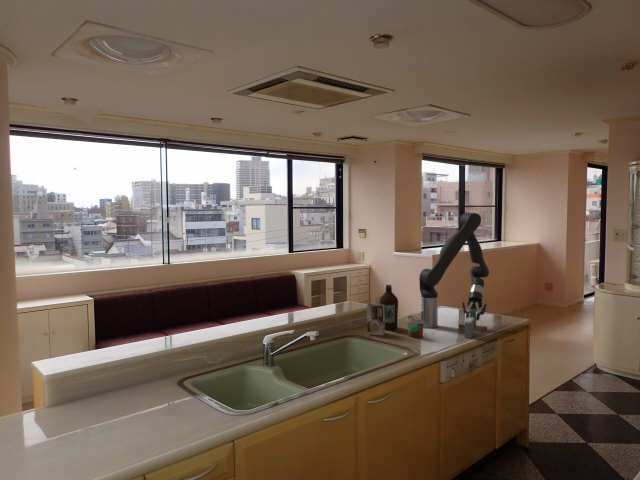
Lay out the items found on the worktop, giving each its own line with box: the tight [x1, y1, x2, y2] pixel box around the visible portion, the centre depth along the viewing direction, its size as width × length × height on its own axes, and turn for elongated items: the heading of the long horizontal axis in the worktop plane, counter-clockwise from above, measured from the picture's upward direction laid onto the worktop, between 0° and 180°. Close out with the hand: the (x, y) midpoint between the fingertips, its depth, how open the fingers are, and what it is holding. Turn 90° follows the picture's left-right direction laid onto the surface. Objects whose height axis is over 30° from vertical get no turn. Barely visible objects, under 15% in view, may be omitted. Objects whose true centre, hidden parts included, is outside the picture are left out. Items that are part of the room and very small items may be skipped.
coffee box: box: [366, 303, 386, 336], centre depth 265 cm, size 9×6×16 cm
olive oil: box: [378, 284, 399, 331], centre depth 275 cm, size 11×11×25 cm
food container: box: [405, 315, 424, 339], centre depth 258 cm, size 12×6×10 cm, turn 21°
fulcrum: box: [464, 316, 475, 339], centre depth 257 cm, size 3×10×9 cm, turn 153°
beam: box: [458, 309, 488, 332], centre depth 270 cm, size 15×3×11 cm, turn 63°
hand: (472, 319), depth 268 cm, fingers open, 4 cm apart
